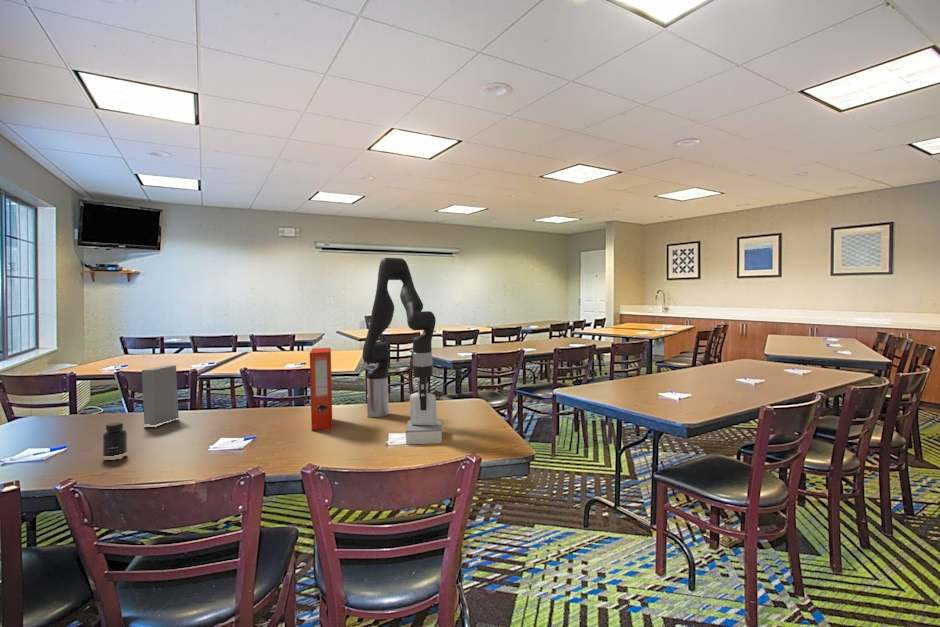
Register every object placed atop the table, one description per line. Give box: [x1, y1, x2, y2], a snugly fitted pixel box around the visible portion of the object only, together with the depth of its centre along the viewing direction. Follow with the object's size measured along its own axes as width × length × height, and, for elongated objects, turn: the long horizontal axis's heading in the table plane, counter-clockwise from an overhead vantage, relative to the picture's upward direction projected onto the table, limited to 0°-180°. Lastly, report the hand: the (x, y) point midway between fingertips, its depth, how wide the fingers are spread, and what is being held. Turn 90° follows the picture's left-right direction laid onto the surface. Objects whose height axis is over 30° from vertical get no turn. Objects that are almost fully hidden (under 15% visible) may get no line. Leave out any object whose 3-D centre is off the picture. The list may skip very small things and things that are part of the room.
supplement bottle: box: [102, 422, 128, 457], centre depth 168 cm, size 7×7×12 cm
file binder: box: [309, 347, 333, 431], centre depth 205 cm, size 8×17×32 cm, turn 15°
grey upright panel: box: [141, 364, 180, 425], centre depth 213 cm, size 14×6×25 cm, turn 172°
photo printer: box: [409, 392, 438, 426], centre depth 184 cm, size 10×4×12 cm, turn 76°
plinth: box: [405, 418, 443, 445], centre depth 184 cm, size 13×15×5 cm
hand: (423, 407), depth 184 cm, fingers open, 6 cm apart
